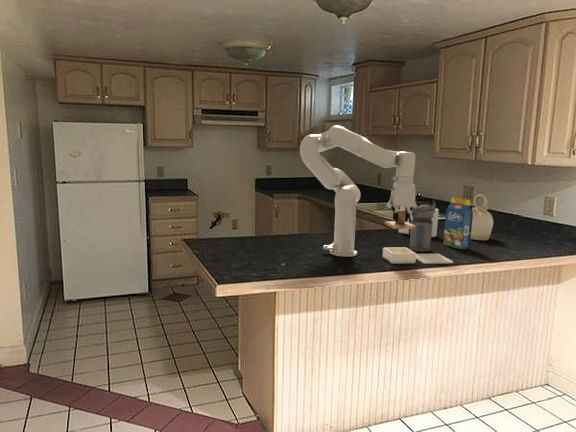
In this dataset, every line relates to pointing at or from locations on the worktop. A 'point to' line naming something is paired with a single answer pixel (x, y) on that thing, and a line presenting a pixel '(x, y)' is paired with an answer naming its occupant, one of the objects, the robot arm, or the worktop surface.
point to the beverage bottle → (421, 227)
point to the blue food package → (458, 224)
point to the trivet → (432, 258)
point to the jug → (481, 220)
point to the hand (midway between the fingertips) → (400, 220)
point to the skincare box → (434, 219)
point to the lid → (400, 222)
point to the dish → (399, 255)
